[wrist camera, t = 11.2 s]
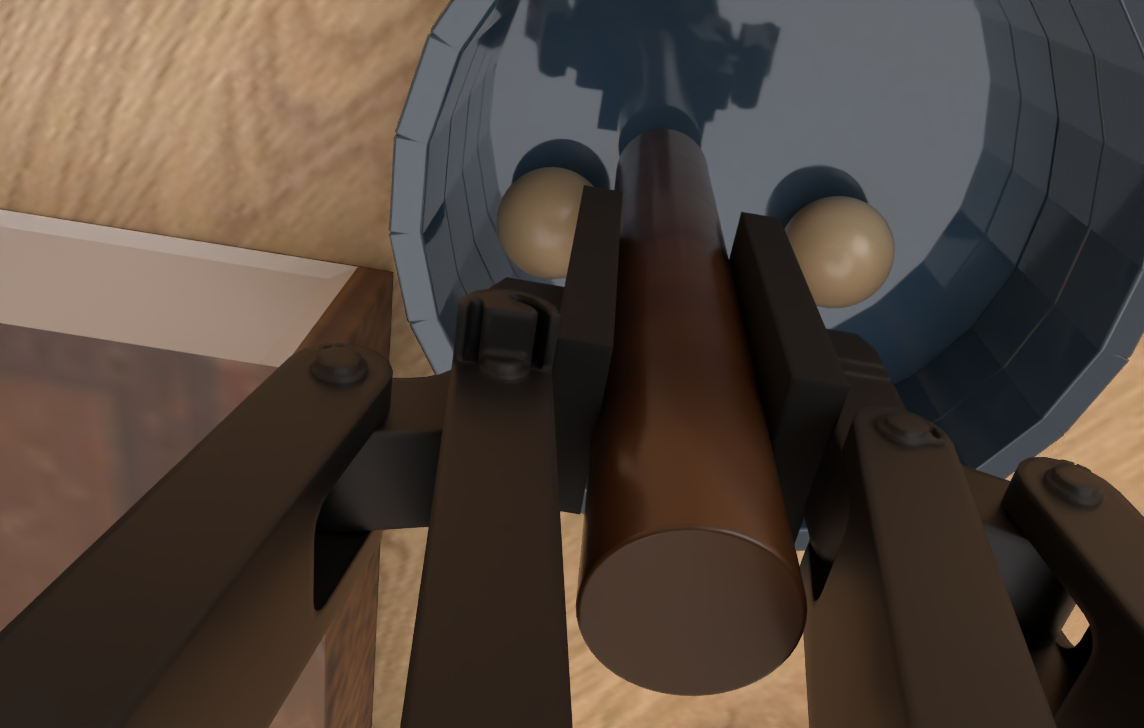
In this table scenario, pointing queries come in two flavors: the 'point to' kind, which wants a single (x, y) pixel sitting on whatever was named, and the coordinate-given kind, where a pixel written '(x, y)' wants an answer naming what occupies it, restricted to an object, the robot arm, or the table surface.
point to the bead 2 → (841, 249)
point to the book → (158, 398)
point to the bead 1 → (541, 220)
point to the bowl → (825, 171)
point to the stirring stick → (683, 455)
